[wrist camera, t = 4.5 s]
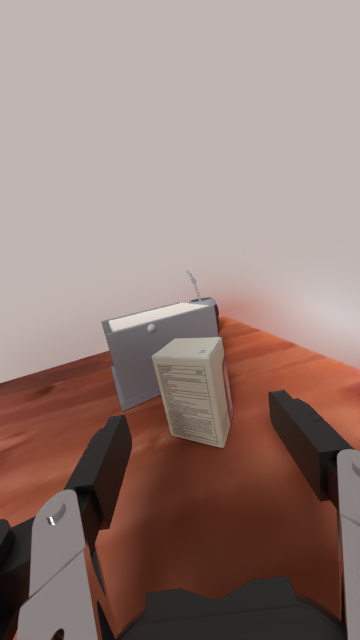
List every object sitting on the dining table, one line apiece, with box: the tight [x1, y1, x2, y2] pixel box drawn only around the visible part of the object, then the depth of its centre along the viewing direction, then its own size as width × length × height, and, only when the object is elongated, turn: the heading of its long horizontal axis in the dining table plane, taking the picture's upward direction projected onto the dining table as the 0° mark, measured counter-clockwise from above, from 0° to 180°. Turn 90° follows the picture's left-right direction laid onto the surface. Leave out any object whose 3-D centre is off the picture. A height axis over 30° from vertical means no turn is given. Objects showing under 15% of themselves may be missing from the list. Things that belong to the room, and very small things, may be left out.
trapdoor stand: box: [102, 303, 227, 412], centre depth 28 cm, size 15×12×9 cm
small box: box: [152, 337, 233, 448], centre depth 16 cm, size 5×4×8 cm
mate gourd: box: [186, 270, 219, 333], centre depth 42 cm, size 8×8×15 cm
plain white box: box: [109, 303, 209, 332], centre depth 28 cm, size 13×9×6 cm
